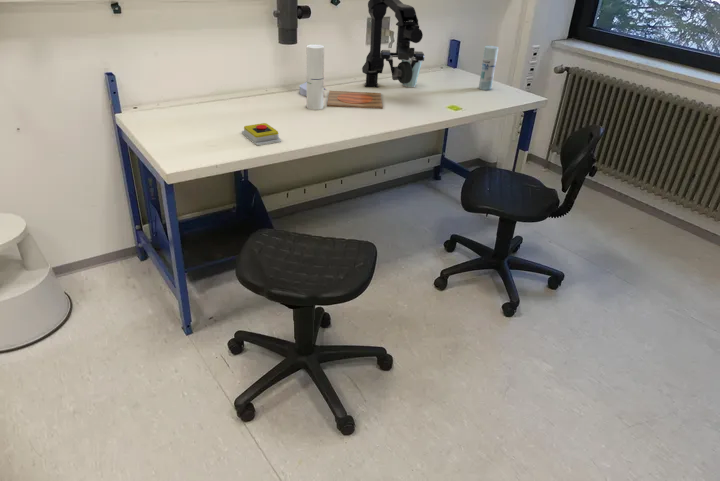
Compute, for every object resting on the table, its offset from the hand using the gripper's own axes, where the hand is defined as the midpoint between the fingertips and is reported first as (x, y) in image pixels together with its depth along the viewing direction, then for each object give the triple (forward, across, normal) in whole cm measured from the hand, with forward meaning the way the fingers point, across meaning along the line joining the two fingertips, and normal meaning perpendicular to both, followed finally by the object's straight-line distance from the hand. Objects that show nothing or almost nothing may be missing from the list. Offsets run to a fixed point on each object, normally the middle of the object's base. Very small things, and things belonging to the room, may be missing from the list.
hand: (400, 75), depth 237 cm
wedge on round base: (+12, -40, +4) cm, 42 cm away
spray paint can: (+12, +45, +28) cm, 54 cm away
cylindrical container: (+12, -37, -15) cm, 41 cm away
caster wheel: (+3, 0, 0) cm, 3 cm away
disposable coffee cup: (+12, +7, +27) cm, 30 cm away
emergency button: (+11, -54, -54) cm, 77 cm away
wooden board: (+11, -20, -2) cm, 23 cm away
